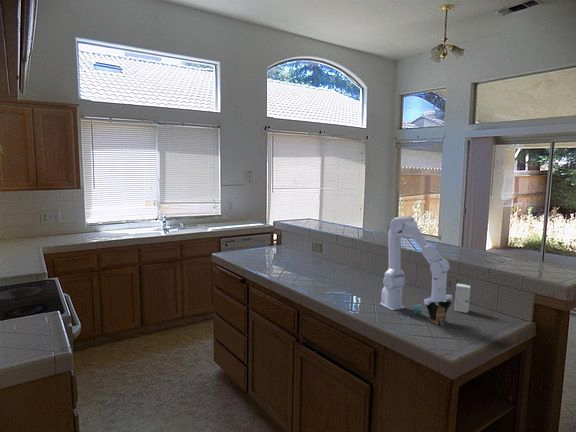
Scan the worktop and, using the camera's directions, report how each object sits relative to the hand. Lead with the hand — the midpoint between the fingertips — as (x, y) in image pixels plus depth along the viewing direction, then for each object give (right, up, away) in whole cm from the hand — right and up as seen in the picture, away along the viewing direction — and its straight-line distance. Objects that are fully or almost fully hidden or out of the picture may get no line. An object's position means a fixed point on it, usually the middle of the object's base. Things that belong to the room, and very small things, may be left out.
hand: (437, 318), depth 166 cm
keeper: (0, -2, 0) cm, 2 cm away
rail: (-2, -1, +4) cm, 4 cm away
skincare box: (+17, 0, +14) cm, 22 cm away
